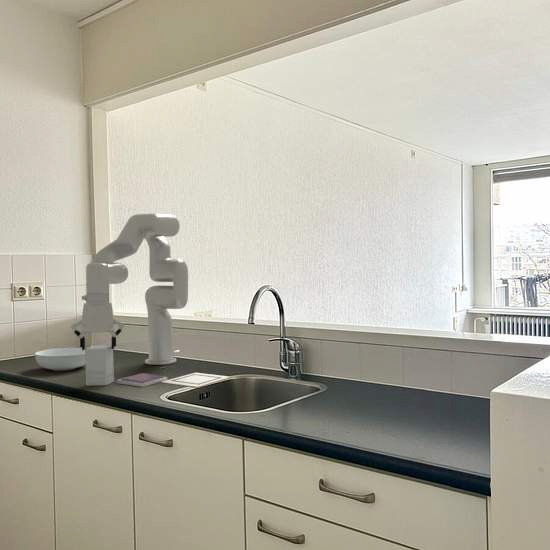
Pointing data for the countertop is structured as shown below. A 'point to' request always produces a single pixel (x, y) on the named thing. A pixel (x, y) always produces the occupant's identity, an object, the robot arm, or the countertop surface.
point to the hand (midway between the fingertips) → (98, 349)
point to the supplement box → (99, 365)
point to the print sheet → (196, 379)
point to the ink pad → (142, 379)
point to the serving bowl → (61, 358)
